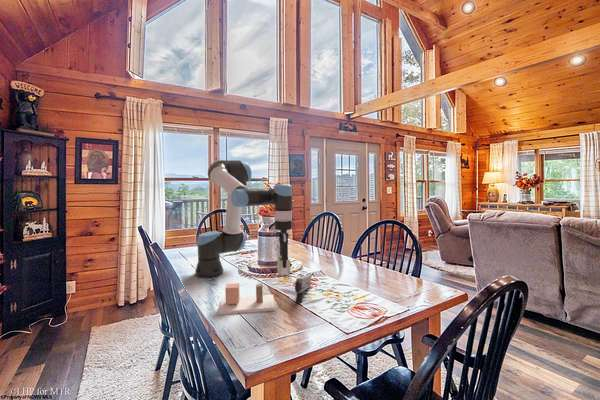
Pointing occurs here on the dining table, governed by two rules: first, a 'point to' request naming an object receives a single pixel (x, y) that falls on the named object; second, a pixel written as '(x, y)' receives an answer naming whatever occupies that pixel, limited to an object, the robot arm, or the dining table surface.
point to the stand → (245, 301)
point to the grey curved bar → (302, 286)
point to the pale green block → (280, 265)
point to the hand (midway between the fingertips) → (283, 272)
